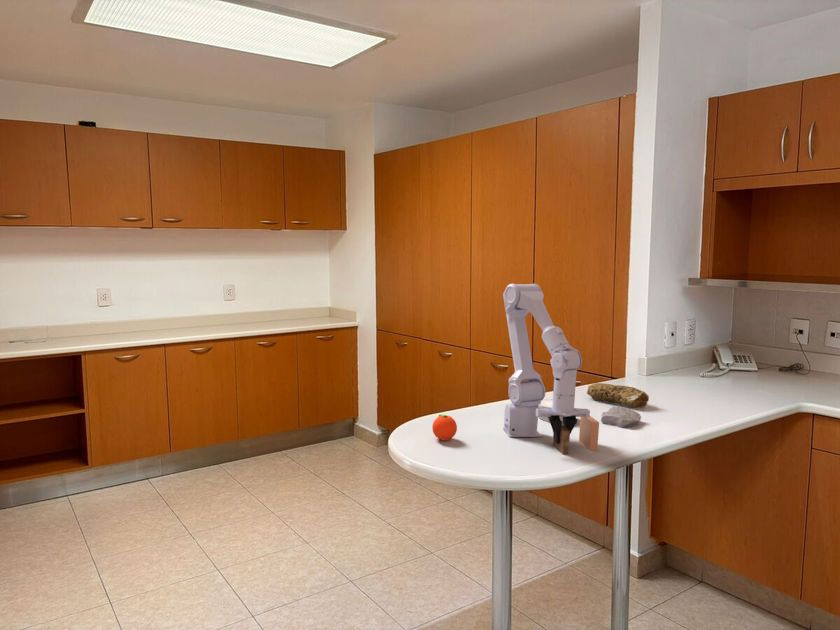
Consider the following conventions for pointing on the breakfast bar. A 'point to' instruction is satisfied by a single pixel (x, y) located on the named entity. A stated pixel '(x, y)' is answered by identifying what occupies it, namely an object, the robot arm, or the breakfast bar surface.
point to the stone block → (620, 417)
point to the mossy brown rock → (618, 394)
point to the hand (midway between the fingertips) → (560, 442)
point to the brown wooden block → (563, 441)
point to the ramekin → (547, 404)
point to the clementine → (444, 427)
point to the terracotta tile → (589, 433)
